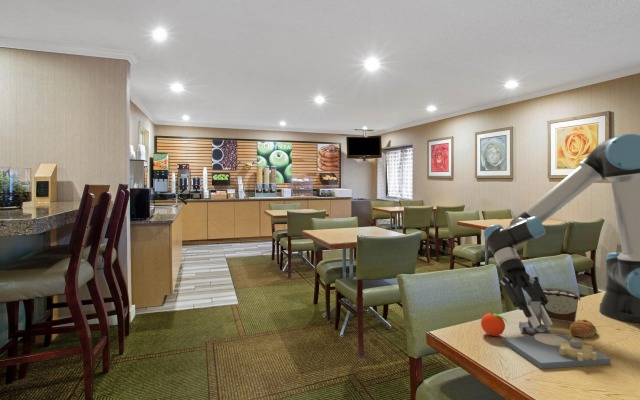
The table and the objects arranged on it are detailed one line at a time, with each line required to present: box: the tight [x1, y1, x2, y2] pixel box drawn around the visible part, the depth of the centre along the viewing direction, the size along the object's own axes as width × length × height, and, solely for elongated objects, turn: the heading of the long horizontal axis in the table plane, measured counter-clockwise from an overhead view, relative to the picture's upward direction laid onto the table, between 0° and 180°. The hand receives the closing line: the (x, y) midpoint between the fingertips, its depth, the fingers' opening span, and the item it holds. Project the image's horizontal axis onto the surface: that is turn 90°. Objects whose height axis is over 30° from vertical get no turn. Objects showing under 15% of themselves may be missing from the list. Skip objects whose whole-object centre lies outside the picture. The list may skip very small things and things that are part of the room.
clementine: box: [480, 312, 509, 337], centre depth 113 cm, size 8×7×7 cm
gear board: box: [502, 333, 612, 370], centre depth 101 cm, size 20×18×5 cm
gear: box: [518, 298, 551, 336], centre depth 116 cm, size 9×8×10 cm
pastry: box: [568, 319, 598, 339], centre depth 115 cm, size 9×7×4 cm
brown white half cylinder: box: [542, 287, 581, 323], centre depth 129 cm, size 12×6×10 cm, turn 58°
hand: (543, 326), depth 112 cm, fingers closed on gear, 4 cm apart
